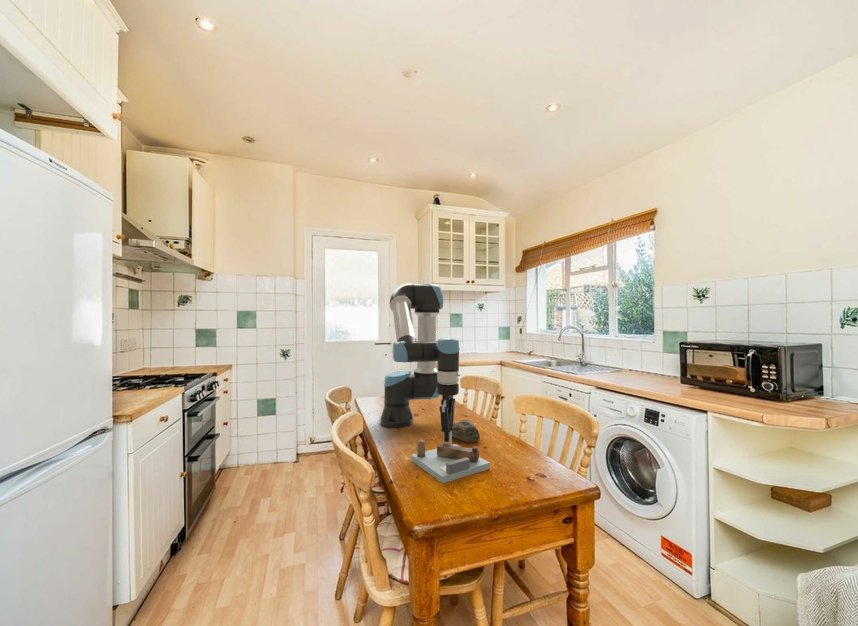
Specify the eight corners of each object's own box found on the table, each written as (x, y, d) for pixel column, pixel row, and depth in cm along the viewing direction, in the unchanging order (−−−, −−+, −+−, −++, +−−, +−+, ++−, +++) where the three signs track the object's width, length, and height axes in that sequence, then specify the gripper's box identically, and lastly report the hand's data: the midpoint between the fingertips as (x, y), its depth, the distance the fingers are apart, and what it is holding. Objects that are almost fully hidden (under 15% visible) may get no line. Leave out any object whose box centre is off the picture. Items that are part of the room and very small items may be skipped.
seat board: (411, 460, 120) (411, 440, 120) (455, 449, 130) (455, 430, 130) (442, 483, 104) (442, 460, 104) (489, 468, 114) (490, 447, 114)
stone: (442, 425, 147) (457, 408, 148) (458, 440, 150) (473, 422, 151) (451, 440, 134) (468, 420, 135) (469, 455, 137) (486, 436, 137)
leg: (436, 455, 119) (436, 443, 119) (440, 451, 122) (440, 440, 122) (476, 462, 114) (476, 450, 114) (479, 458, 116) (479, 446, 116)
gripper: (454, 387, 114) (453, 458, 114) (462, 379, 126) (461, 444, 126) (432, 385, 116) (431, 455, 116) (442, 378, 129) (441, 441, 129)
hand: (447, 449), depth 121 cm, fingers closed
